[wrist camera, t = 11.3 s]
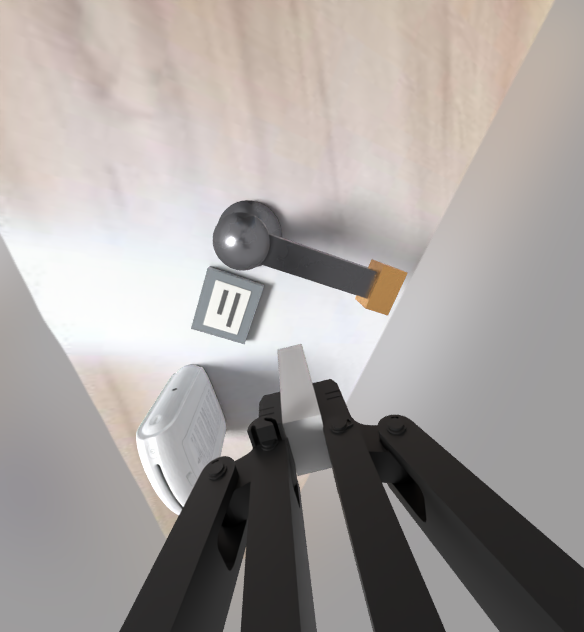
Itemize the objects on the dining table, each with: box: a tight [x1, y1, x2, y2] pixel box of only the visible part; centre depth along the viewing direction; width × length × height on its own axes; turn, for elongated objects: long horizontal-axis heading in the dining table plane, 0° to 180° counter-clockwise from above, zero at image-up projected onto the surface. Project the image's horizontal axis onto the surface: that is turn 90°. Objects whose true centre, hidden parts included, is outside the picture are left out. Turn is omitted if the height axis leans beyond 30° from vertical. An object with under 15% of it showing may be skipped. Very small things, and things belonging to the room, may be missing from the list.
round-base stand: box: [218, 200, 282, 266], centre depth 26 cm, size 6×6×7 cm
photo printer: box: [136, 365, 226, 515], centre depth 29 cm, size 10×4×12 cm, turn 14°
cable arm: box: [213, 212, 407, 315], centre depth 22 cm, size 14×4×3 cm, turn 71°
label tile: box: [191, 267, 264, 344], centre depth 31 cm, size 7×6×1 cm
